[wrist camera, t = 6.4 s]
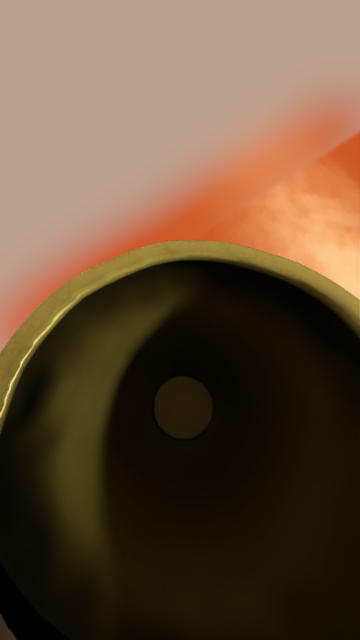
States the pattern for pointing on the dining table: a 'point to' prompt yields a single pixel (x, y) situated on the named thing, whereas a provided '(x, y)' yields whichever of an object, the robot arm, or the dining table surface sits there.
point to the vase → (183, 452)
